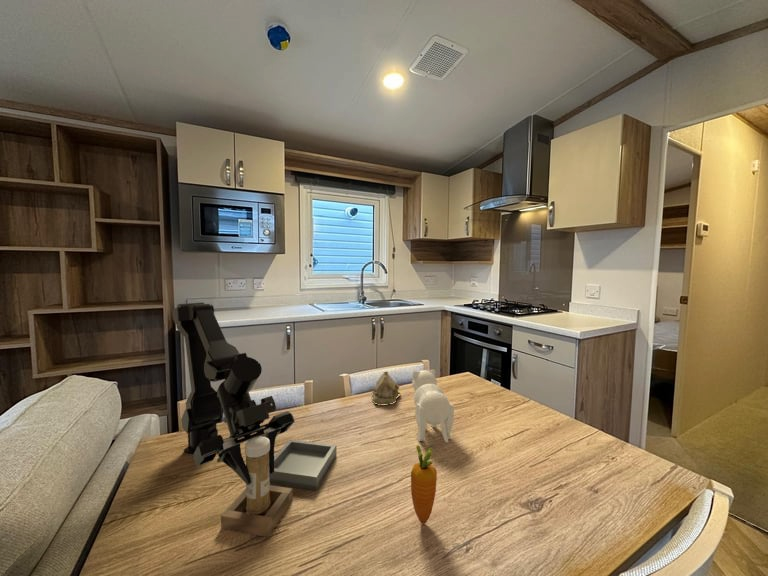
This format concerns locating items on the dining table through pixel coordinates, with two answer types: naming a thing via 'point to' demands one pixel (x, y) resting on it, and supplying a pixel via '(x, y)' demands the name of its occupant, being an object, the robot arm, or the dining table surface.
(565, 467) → the dining table surface
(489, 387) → the dining table surface
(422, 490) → the carrot
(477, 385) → the dining table surface
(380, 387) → the ceramic model
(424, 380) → the cat figurine
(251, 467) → the sprinkles bottle
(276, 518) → the holder collar
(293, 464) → the tray
